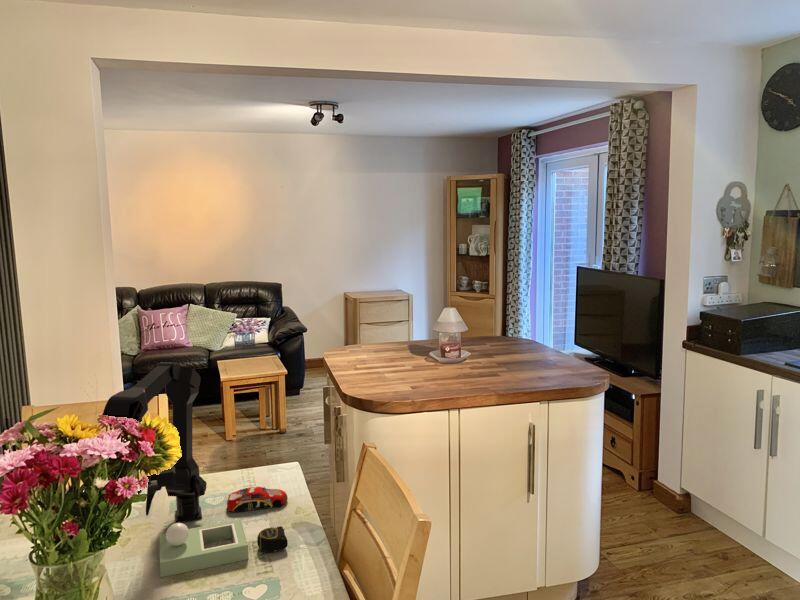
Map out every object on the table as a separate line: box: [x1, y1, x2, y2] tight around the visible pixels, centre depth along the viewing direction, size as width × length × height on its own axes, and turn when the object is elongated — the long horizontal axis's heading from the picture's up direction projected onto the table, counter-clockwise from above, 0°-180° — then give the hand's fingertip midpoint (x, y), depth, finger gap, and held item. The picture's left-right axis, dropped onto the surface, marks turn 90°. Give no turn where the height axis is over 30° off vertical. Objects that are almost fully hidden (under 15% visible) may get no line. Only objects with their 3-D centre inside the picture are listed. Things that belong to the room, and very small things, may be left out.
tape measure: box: [256, 525, 288, 553], centre depth 145 cm, size 7×7×4 cm
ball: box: [165, 522, 189, 546], centre depth 140 cm, size 5×5×5 cm
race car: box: [226, 486, 288, 513], centre depth 166 cm, size 16×7×5 cm, turn 104°
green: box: [159, 519, 249, 578], centre depth 142 cm, size 13×19×4 cm
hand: (133, 517), depth 136 cm, fingers open, 5 cm apart
